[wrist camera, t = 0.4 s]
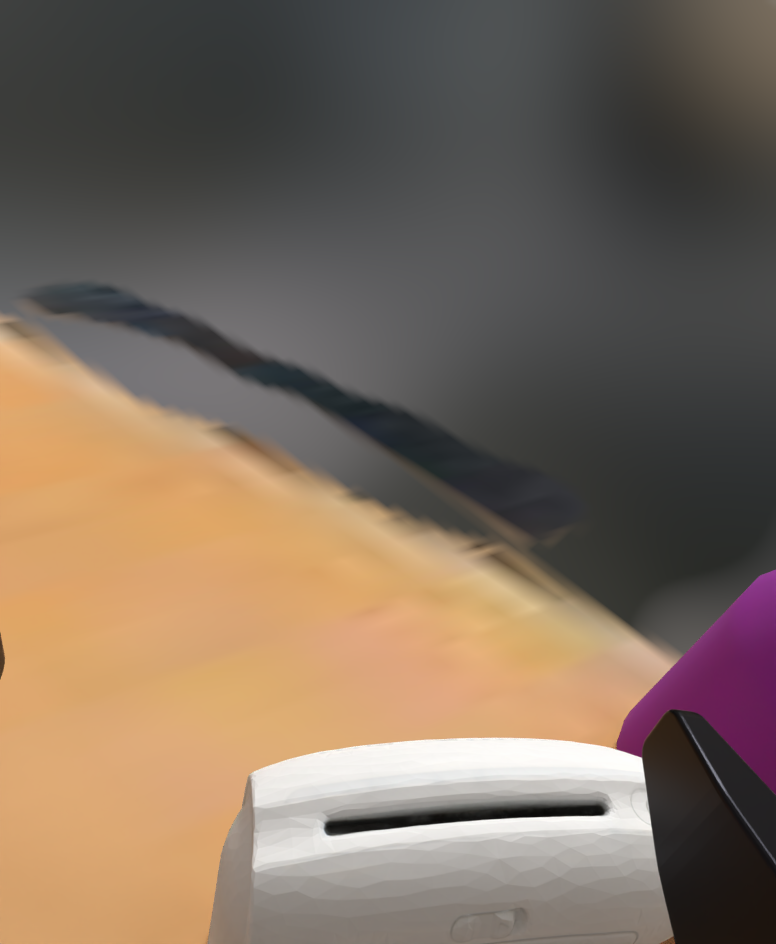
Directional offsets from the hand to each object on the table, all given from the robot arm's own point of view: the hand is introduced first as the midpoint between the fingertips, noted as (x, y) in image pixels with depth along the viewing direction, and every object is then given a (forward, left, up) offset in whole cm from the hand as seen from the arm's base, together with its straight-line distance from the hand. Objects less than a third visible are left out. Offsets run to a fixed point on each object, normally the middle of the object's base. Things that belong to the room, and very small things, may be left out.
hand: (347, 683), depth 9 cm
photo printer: (+1, -3, -17) cm, 17 cm away
